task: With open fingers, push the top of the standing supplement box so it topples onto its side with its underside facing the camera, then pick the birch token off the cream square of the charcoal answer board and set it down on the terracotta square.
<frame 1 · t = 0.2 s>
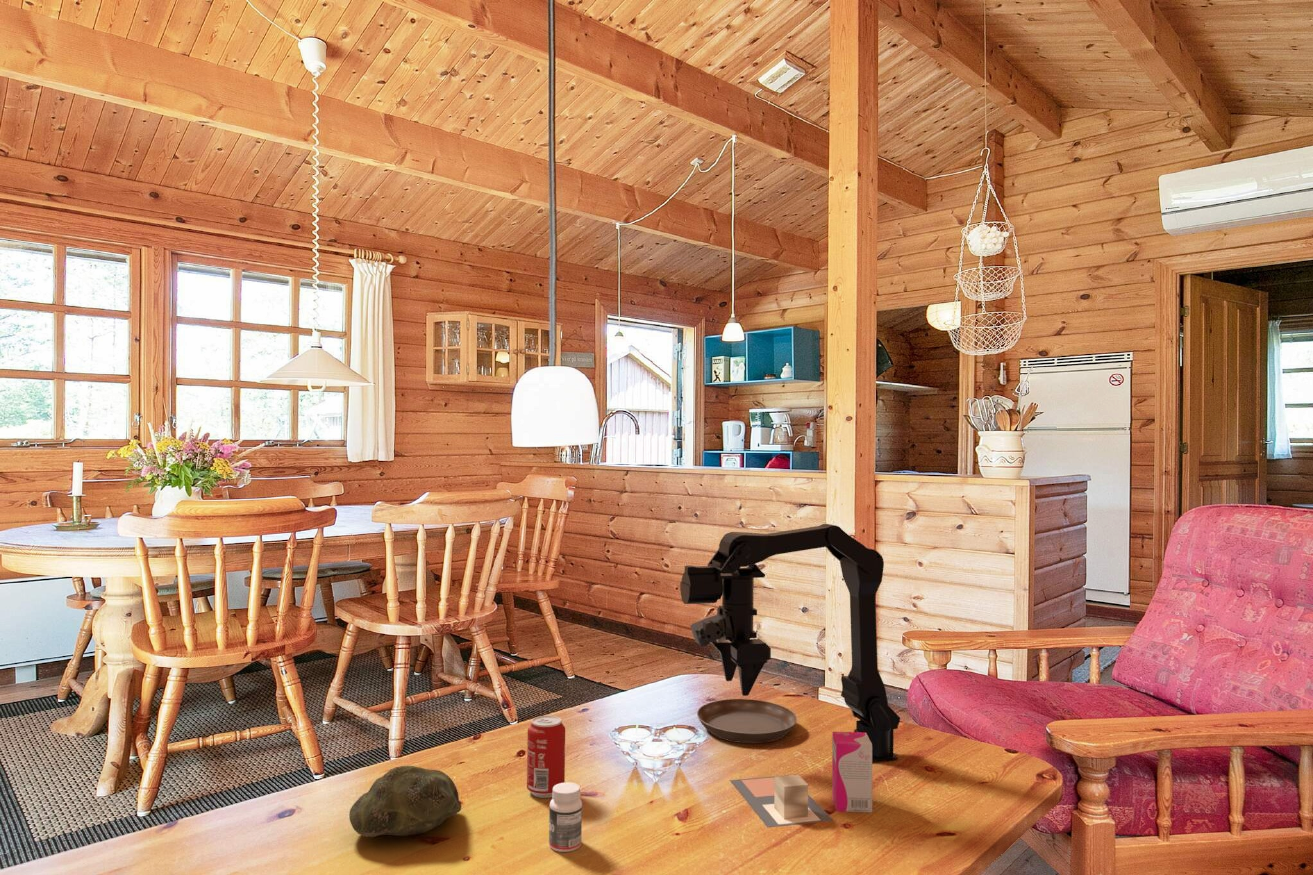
hand: (736, 687, 148), 15 cm above the table, fingers open, 9 cm apart
beverage can: (545, 793, 137), on the table
supplement box: (851, 808, 133), on the table
answer board: (778, 802, 134), on the table
birch token: (790, 812, 129), point 1 cm above the table, touching answer board
pill bottle: (565, 846, 119), on the table
decorative rock: (407, 830, 123), on the table
plant saucer: (746, 730, 170), on the table
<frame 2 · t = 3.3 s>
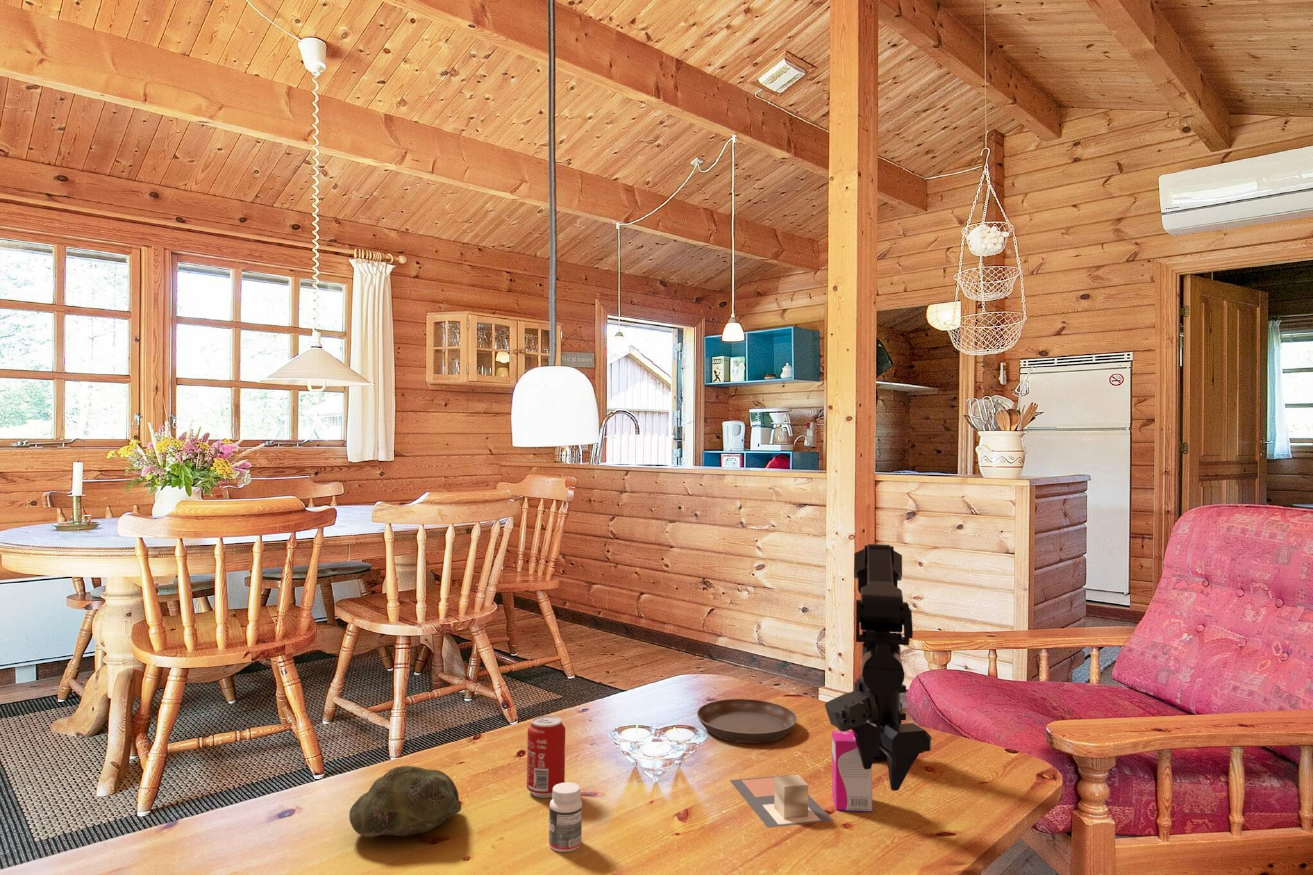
hand: (880, 779, 124), 8 cm above the table, fingers open, 8 cm apart
supplement box: (851, 808, 133), on the table, touching gripper
everything else where it was.
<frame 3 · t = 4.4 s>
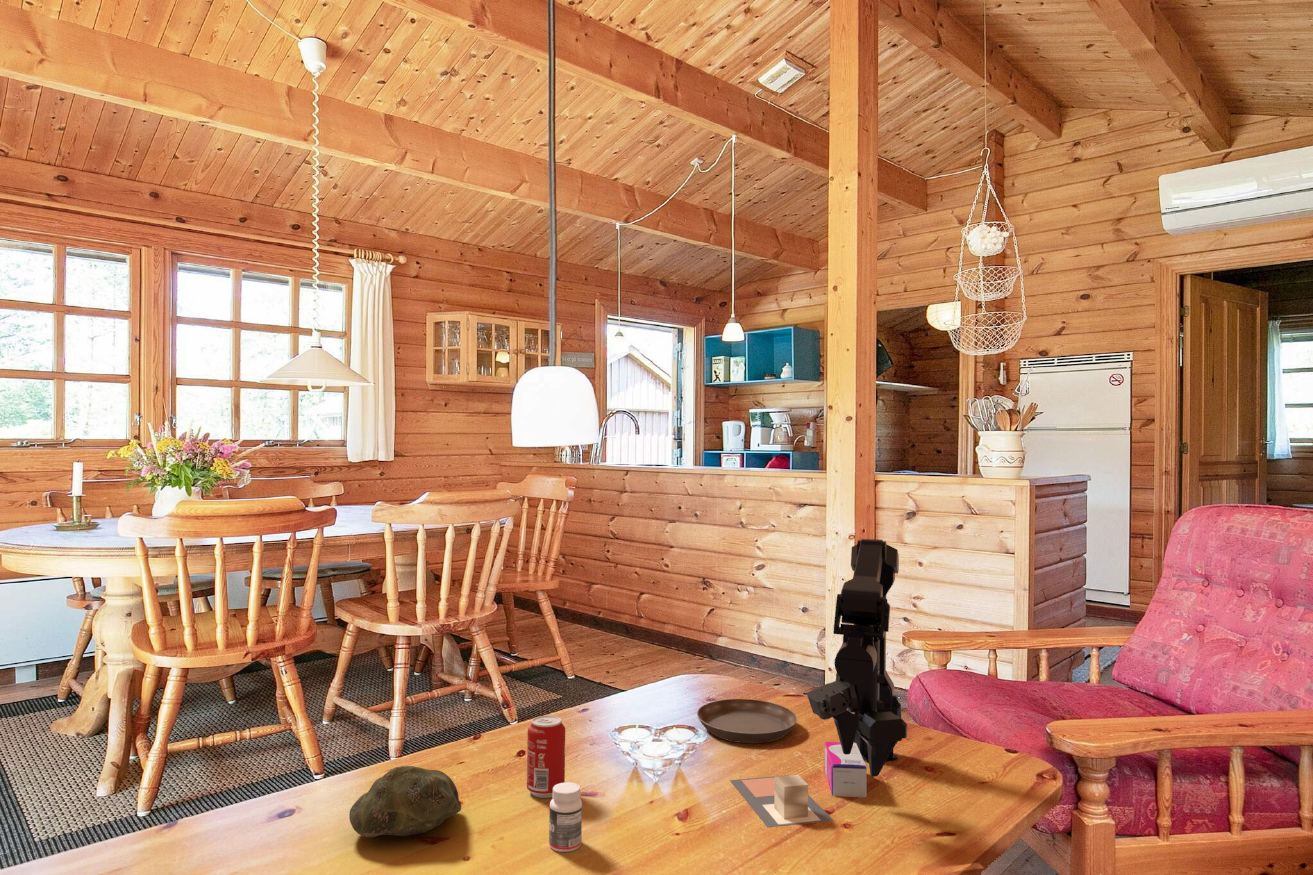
hand: (860, 764, 130), 8 cm above the table, fingers open, 9 cm apart
supplement box: (849, 784, 135), point 3 cm above the table
everything else where it was.
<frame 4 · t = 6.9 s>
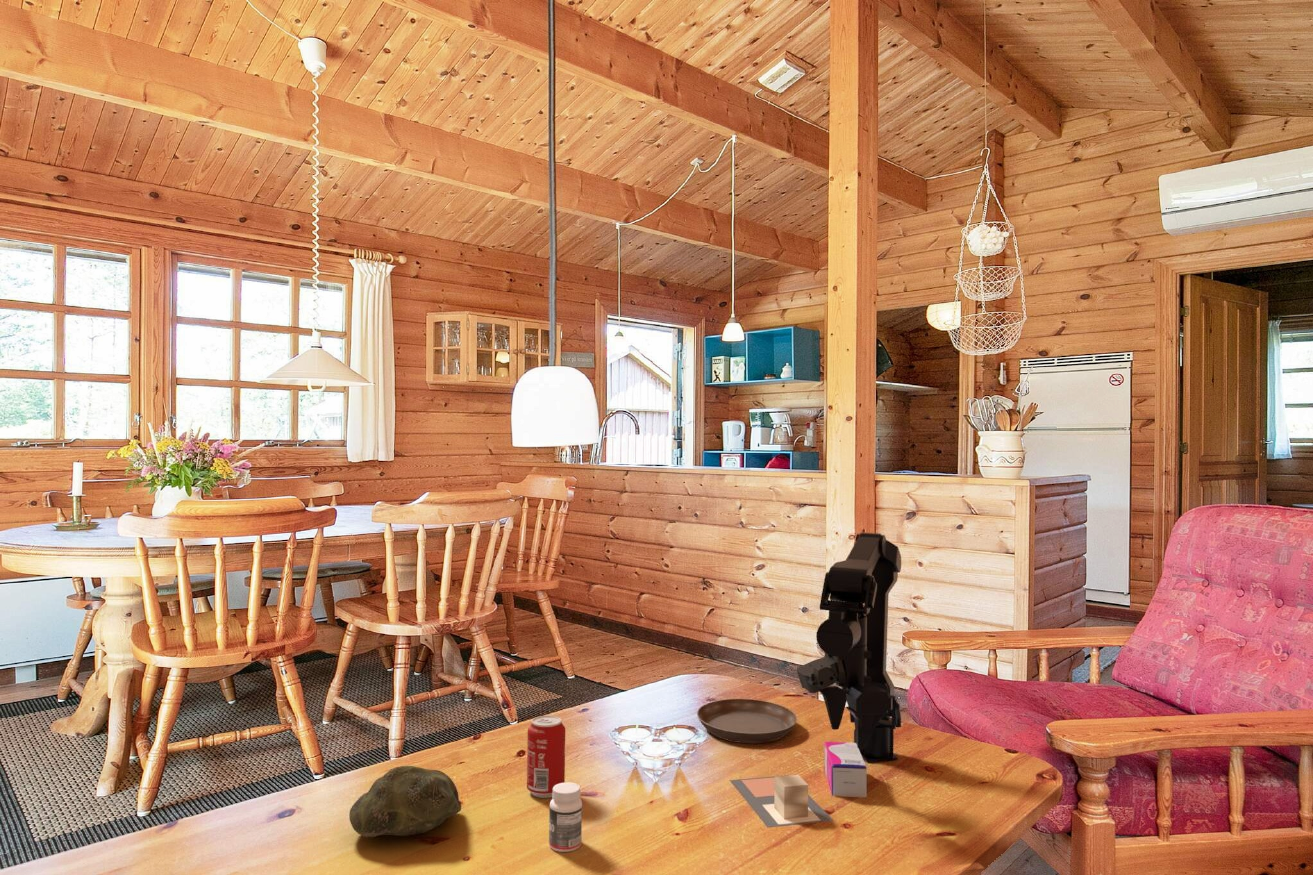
hand: (847, 738, 134), 11 cm above the table, fingers open, 9 cm apart
nothing on the table moved.
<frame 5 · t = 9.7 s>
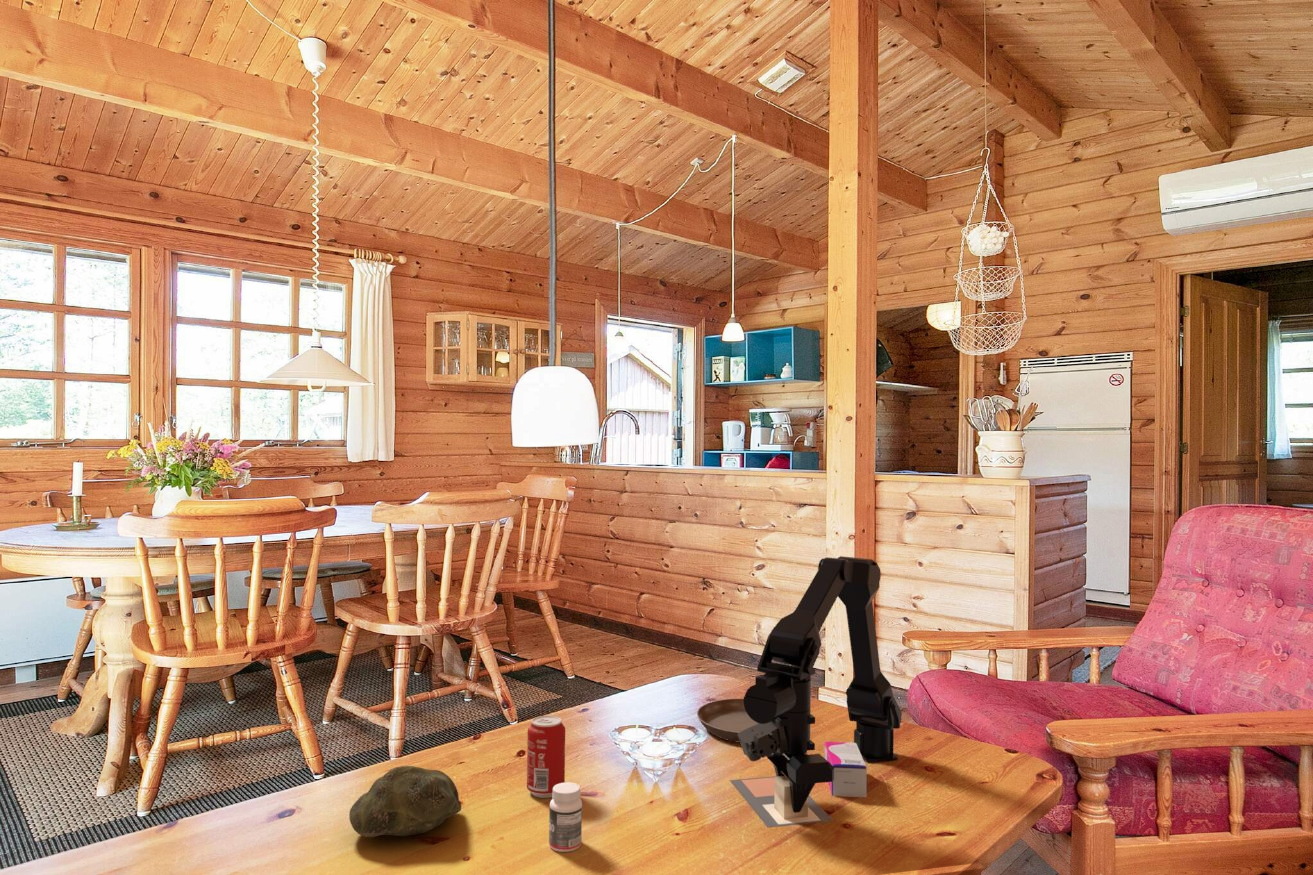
hand: (791, 805, 129), 2 cm above the table, fingers closed on birch token, 4 cm apart
birch token: (790, 812, 129), point 1 cm above the table, touching answer board, gripper
everything else where it was.
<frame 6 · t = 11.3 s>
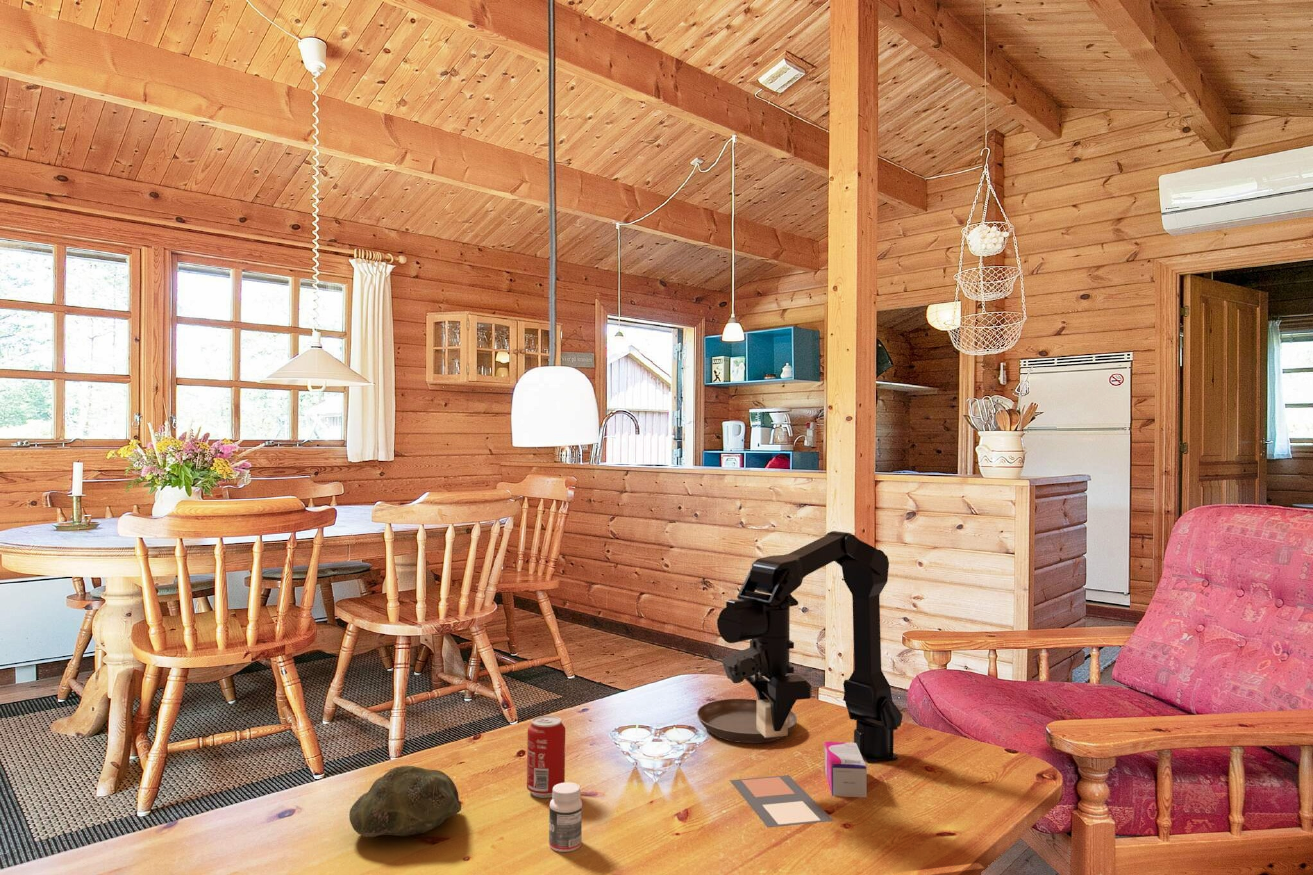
hand: (772, 726, 138), 11 cm above the table, fingers closed on birch token, 4 cm apart
birch token: (771, 732, 138), point 10 cm above the table, touching gripper
everything else where it was.
when the fingers open (3 cm above the table, at t = 13.3 s): birch token drops 1 cm, resting on answer board.
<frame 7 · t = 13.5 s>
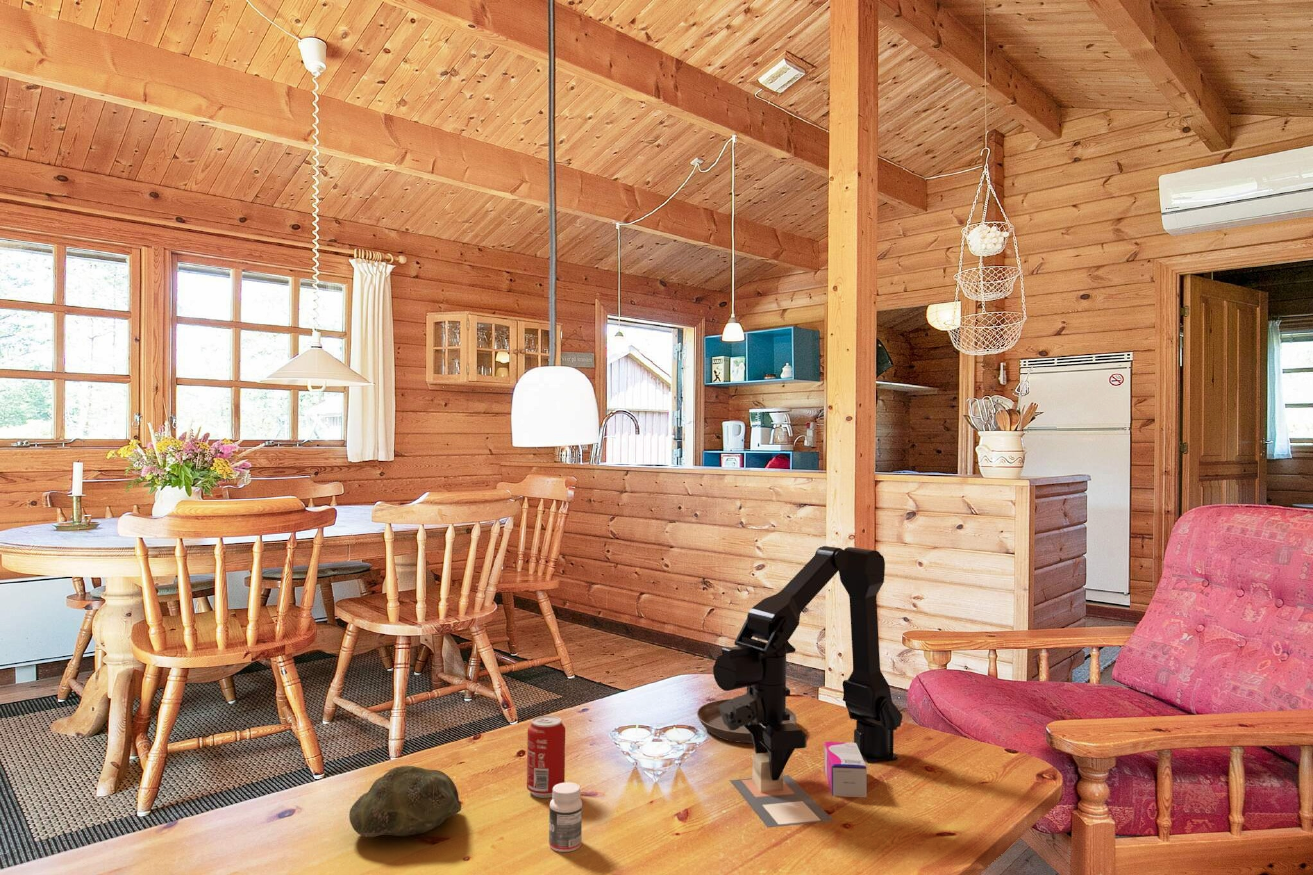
hand: (768, 772, 139), 3 cm above the table, fingers open, 6 cm apart
birch token: (767, 786, 139), point 1 cm above the table, touching answer board
everything else where it was.
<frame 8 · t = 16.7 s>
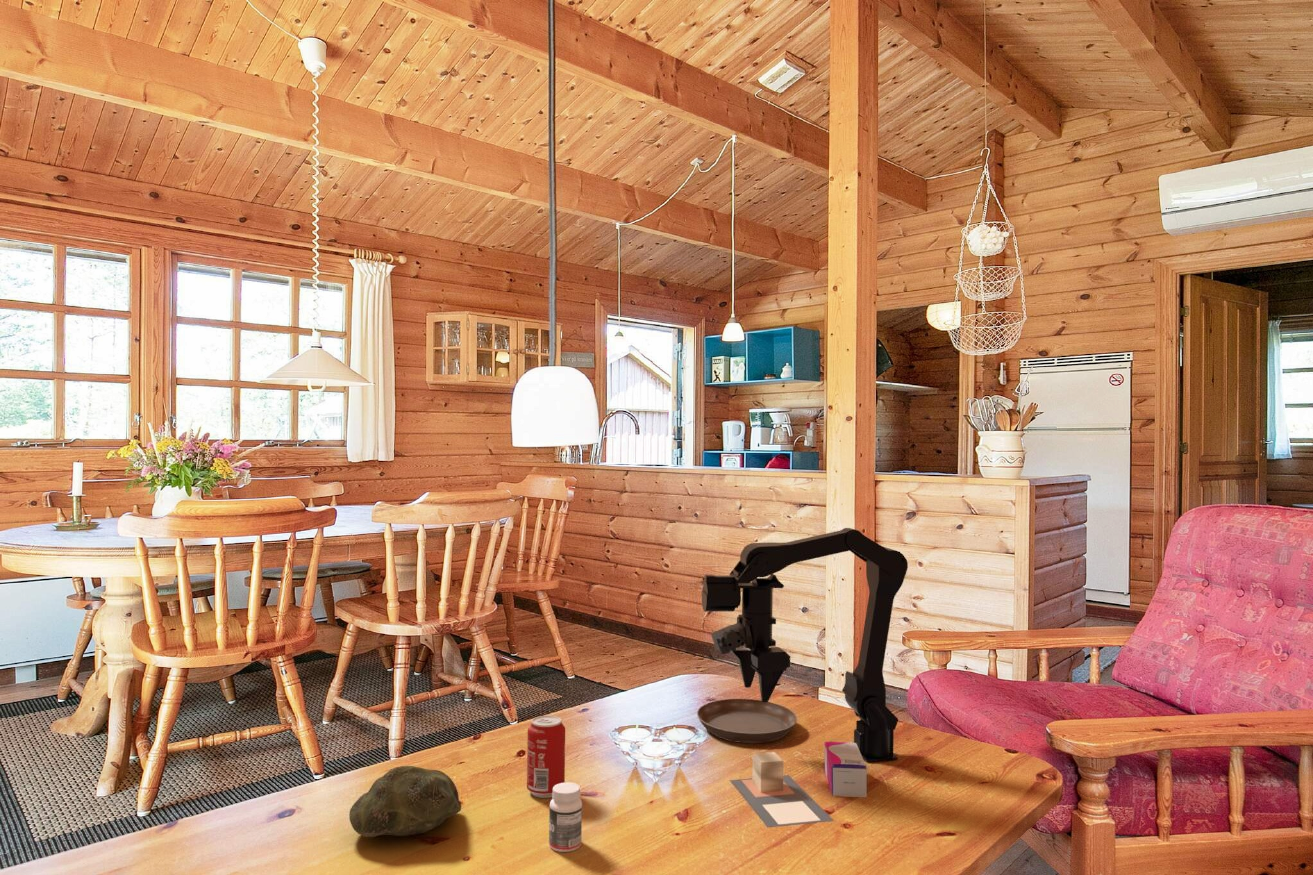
hand: (756, 694, 153), 12 cm above the table, fingers open, 9 cm apart
nothing on the table moved.
at the end: supplement box tilted 89°; supplement box inside the target area (1.0 cm from its centre), point 2.7 cm above the table; birch token inside the target area on the answer board (0.2 cm from its centre), point 0.6 cm above the answer board's base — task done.
